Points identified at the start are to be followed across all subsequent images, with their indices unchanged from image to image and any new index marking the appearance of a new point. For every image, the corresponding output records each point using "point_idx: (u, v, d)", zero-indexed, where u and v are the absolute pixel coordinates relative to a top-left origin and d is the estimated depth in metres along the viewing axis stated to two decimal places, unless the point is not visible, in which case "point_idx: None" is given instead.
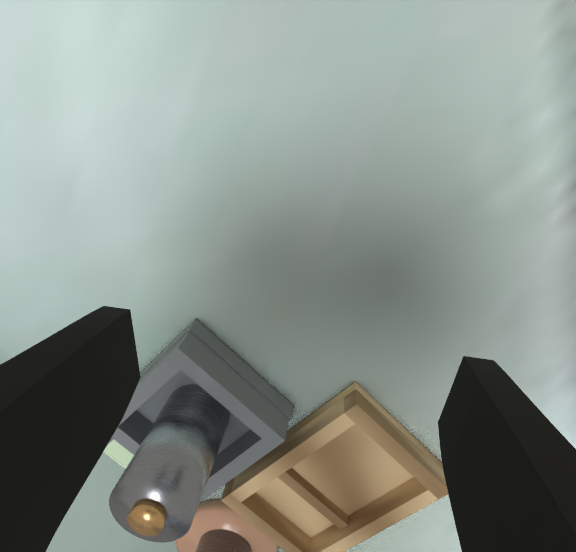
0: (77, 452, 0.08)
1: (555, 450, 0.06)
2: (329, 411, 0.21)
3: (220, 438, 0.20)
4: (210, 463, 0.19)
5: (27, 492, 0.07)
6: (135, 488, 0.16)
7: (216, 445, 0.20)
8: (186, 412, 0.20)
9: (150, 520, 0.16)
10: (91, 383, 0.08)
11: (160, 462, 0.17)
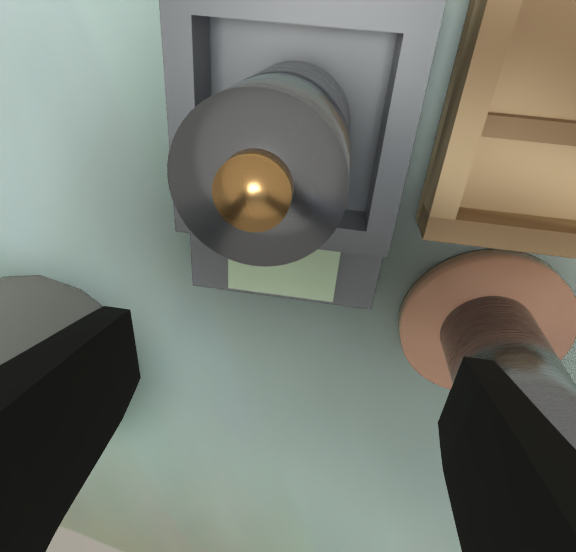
0: (77, 452, 0.08)
1: (555, 450, 0.06)
2: None
3: (336, 91, 0.11)
4: (331, 99, 0.09)
5: (27, 492, 0.07)
6: (195, 151, 0.08)
7: (332, 91, 0.10)
8: None
9: (254, 178, 0.07)
10: (91, 383, 0.08)
11: None
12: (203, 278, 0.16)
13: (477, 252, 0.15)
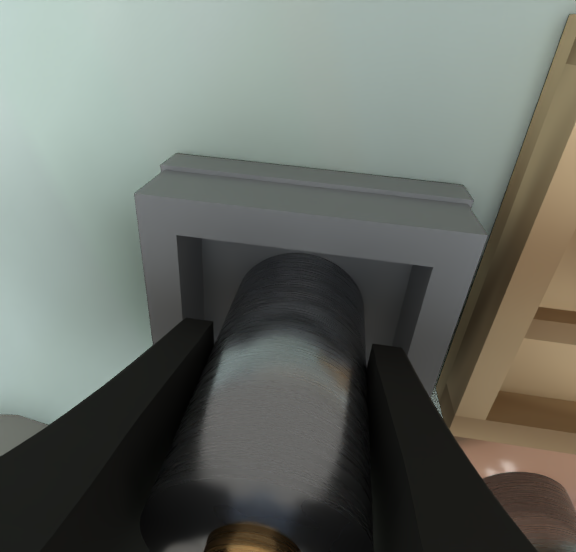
0: None
1: (427, 430, 0.06)
2: (550, 121, 0.08)
3: (350, 320, 0.09)
4: (346, 373, 0.07)
5: (138, 512, 0.06)
6: (174, 518, 0.06)
7: (346, 335, 0.08)
8: (245, 309, 0.09)
9: None
10: (185, 398, 0.08)
11: (201, 428, 0.06)
12: None
13: None
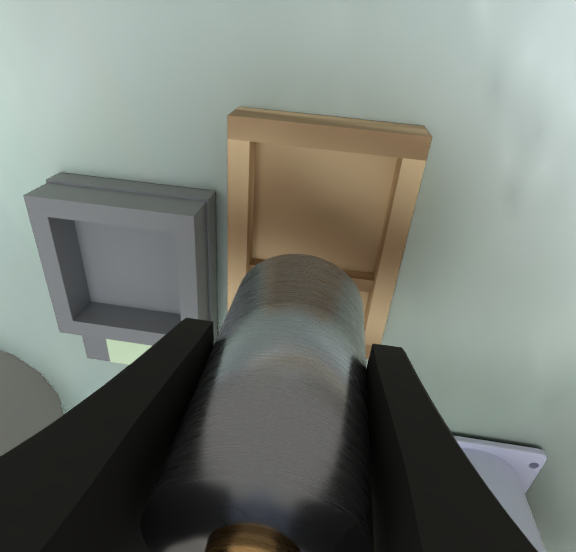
0: None
1: (427, 431, 0.06)
2: None
3: (351, 323, 0.09)
4: (349, 376, 0.08)
5: (138, 512, 0.06)
6: (176, 517, 0.06)
7: (348, 338, 0.08)
8: (248, 308, 0.09)
9: None
10: (185, 397, 0.08)
11: (205, 427, 0.06)
12: (94, 353, 0.23)
13: None
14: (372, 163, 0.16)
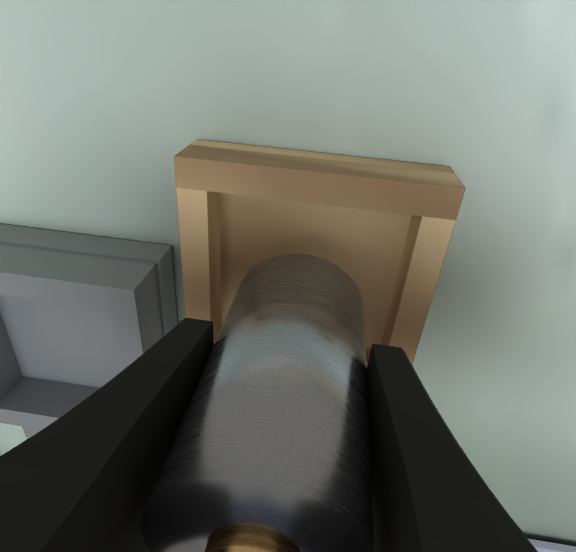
0: None
1: (426, 430, 0.06)
2: None
3: (352, 323, 0.09)
4: (349, 376, 0.07)
5: (138, 512, 0.06)
6: (176, 517, 0.06)
7: (348, 338, 0.08)
8: (248, 308, 0.09)
9: None
10: (185, 397, 0.08)
11: (205, 427, 0.06)
12: (33, 432, 0.18)
13: None
14: (378, 216, 0.12)
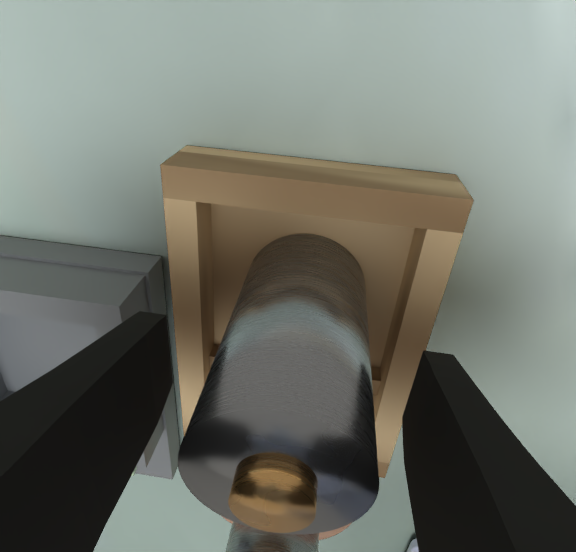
0: (118, 459, 0.08)
1: (498, 441, 0.06)
2: None
3: (355, 294, 0.10)
4: (354, 336, 0.09)
5: (76, 501, 0.07)
6: (210, 448, 0.07)
7: (353, 305, 0.09)
8: (263, 280, 0.10)
9: (276, 497, 0.06)
10: (132, 389, 0.08)
11: (233, 373, 0.07)
12: None
13: None
14: (379, 227, 0.11)
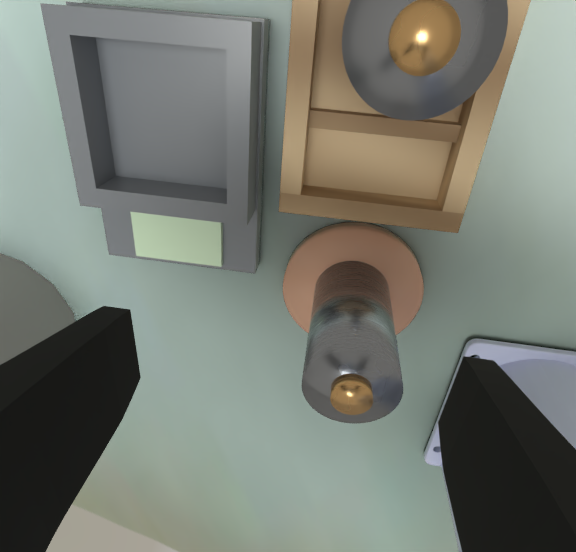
0: (77, 452, 0.08)
1: (555, 450, 0.06)
2: None
3: None
4: None
5: (27, 492, 0.07)
6: (373, 3, 0.09)
7: None
8: None
9: (431, 20, 0.08)
10: (91, 383, 0.08)
11: None
12: (117, 248, 0.20)
13: (337, 224, 0.18)
14: None
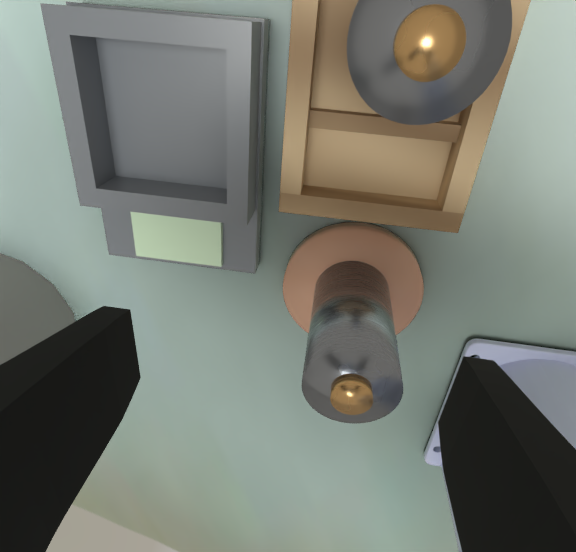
0: (77, 452, 0.08)
1: (555, 450, 0.06)
2: None
3: None
4: None
5: (27, 492, 0.07)
6: (377, 10, 0.09)
7: None
8: None
9: (436, 26, 0.08)
10: (91, 383, 0.08)
11: None
12: (117, 248, 0.20)
13: (337, 224, 0.18)
14: None
